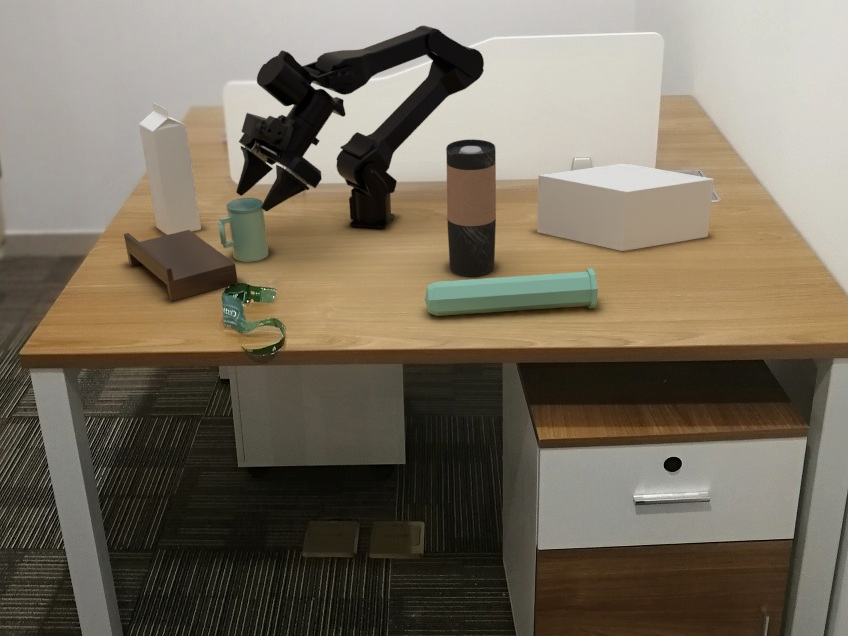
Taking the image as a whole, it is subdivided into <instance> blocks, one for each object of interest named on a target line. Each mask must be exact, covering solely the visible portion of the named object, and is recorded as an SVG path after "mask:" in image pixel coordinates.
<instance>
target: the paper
mask: <svg viewBox="0 0 848 636" xmlns="http://www.w3.org/2000/svg"><path fill="white" fill-rule="evenodd" d="M537 179H538V180H537V215H536V216H537V218H536V233H538V234H544V235H548V236H553V237H557V238H561V239H565V240H566V239H567V240H571V241H574V242H575V241H576V242H580V243H584V244H588V245H593V246H598V247H602V248H607V249H611V250H616V251H621V252H625V251H632V250H637V249H644V248H649V247H656V246H661V245H662V246H663V245H669V244H675V243H680V242H686V241H691V240H692V241H693V240H698V239H702V238H703V239H704V238H709V237H708V236H709V229H710V228H709V227H710V220H711V211H712V203H713V194H714V187H715V186H714V183H715V178H712V177H711V178H710V177H704V176H699V175H693V174H688V173H682V172H677V171H670V170H665V169H659V168H654V167H647V166H642V165H638V164H637V165H636V164H630V163H625V162H624V163H623V162H622V163H617V164H611V165H610V164H609V165H602V166H595V167H587V168H579V169H573V170H565V171H559V172H552V173H545V174H538V178H537Z"/></svg>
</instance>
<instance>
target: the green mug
mask: <svg viewBox="0 0 848 636" xmlns="http://www.w3.org/2000/svg"><path fill="white" fill-rule="evenodd" d="M263 202H264V200H262V199H261V198H257V197H256V198H255V197H243V198H236V199H233V200H229V202H227V203H226V211H227V216H223V217H219V222H218V232H219V239H220V244H221V245H222V247H223V248H224V249H228V248H232V256H233V259H234V260H236V261H238V262H243V263H251V262H252V263H253V262H258V261H262V260H264V259H265V258H267V257H268V256H269V246H268V245H269V244H268V236H267V229H266V217H265V210H263V209H262V205H263ZM225 224H228V226H229V233H230V240H228V241H227V236H226V235H227V234H226V227H225Z"/></svg>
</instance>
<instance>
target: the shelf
mask: <svg viewBox="0 0 848 636" xmlns="http://www.w3.org/2000/svg"><path fill="white" fill-rule="evenodd" d="M123 237H124V243H125V248H126V253H127V259H128V264H129V265H130V266H131V267H135V266H140V265H143V266H144V267H146V269H148V270H149V271H150V272H151V273H153V275H155V276H156V277H157V278H158V279H159V280H160V281H162V282H163V283H164V284H165V285H166V288H167V295H168V299H169V300H170V301H171V302H172V303H173V302H175V301H180V300H182V299H187V298H191V297H194V296H197V295H200V294H204V293H208V292H211V291H215V290H219V289H223V288H225V287H229V286H232V285H236V284H238V283H239V281H238V273H237V267H236V263H235V262H234V261H232V259H230V258H229V257H227V256H226V255H224V254H223V253H221V252H220V251H219V250H217V249H216V248H215V247H213V246H212V245H210V244H209V243H208V242H206V241H205V240H204V239H203V238H201V237H200V236H198V235H197V234H195V233H194V231H193V232H191V231H190V230H186V231H182V232H178V233H174V234H170V235H166V234H165V235H162V236H159V237H154V238H150V239H146V240H142V241H139V240H138V239H137V238H135V236H133V235H131V234H130V233H129V232H126V233H124V234H123Z"/></svg>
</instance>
